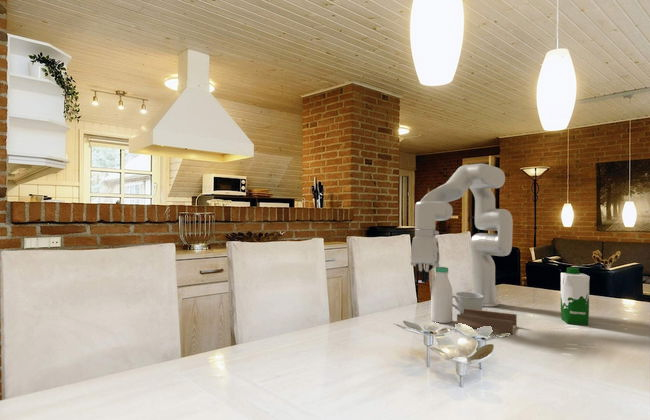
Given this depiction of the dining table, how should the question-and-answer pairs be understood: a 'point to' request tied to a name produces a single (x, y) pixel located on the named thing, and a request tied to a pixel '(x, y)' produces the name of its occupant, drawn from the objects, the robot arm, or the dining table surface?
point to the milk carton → (575, 297)
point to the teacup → (468, 301)
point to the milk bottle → (441, 297)
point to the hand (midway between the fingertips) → (424, 281)
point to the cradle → (489, 320)
